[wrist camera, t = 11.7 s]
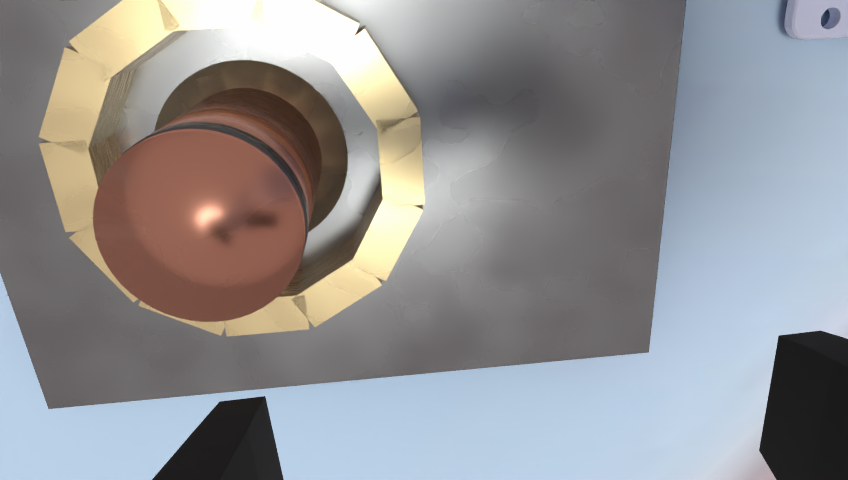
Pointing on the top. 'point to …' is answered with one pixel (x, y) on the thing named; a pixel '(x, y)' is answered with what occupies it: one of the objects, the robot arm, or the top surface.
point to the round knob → (212, 207)
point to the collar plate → (351, 183)
